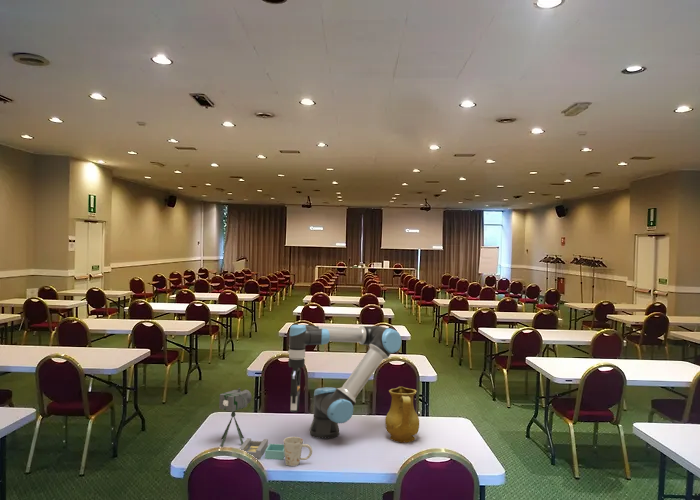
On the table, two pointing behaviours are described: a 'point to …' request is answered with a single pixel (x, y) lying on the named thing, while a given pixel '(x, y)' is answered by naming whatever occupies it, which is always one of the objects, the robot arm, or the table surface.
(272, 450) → the tray
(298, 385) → the aa cell
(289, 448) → the mug
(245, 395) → the camera
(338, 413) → the robot arm
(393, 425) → the pitcher
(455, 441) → the table surface
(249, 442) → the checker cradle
